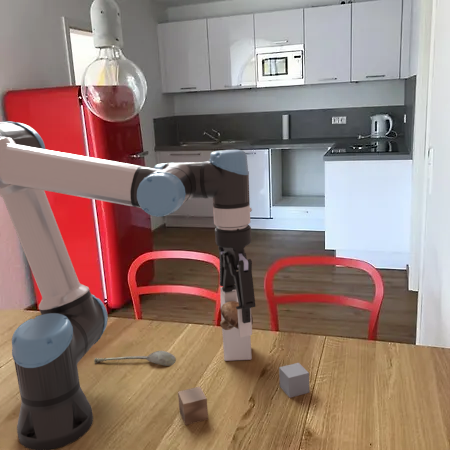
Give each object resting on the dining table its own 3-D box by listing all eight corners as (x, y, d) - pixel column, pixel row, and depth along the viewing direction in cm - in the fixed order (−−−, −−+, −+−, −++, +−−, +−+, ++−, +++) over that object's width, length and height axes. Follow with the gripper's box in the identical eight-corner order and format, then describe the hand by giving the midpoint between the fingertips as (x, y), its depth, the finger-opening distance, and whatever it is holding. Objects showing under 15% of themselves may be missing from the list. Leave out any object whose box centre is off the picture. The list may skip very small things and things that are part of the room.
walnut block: (185, 425, 101) (183, 404, 100) (179, 412, 106) (177, 391, 105) (208, 419, 103) (206, 398, 102) (201, 406, 108) (200, 386, 106)
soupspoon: (174, 371, 125) (178, 359, 131) (173, 359, 124) (178, 348, 131) (91, 369, 127) (99, 357, 133) (90, 357, 126) (98, 346, 132)
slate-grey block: (289, 398, 109) (288, 377, 108) (279, 386, 113) (279, 367, 112) (309, 392, 110) (308, 372, 109) (299, 381, 115) (298, 362, 114)
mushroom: (206, 318, 104) (222, 295, 103) (222, 317, 111) (238, 296, 110) (232, 343, 101) (249, 319, 100) (247, 341, 108) (264, 318, 107)
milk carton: (251, 360, 126) (248, 291, 121) (224, 361, 126) (219, 292, 122) (250, 347, 133) (247, 281, 128) (224, 348, 133) (220, 282, 129)
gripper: (269, 234, 92) (274, 344, 98) (232, 214, 112) (237, 306, 117) (232, 239, 90) (239, 351, 95) (201, 218, 109) (207, 312, 115)
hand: (238, 326), depth 106 cm, fingers closed on mushroom, 8 cm apart
